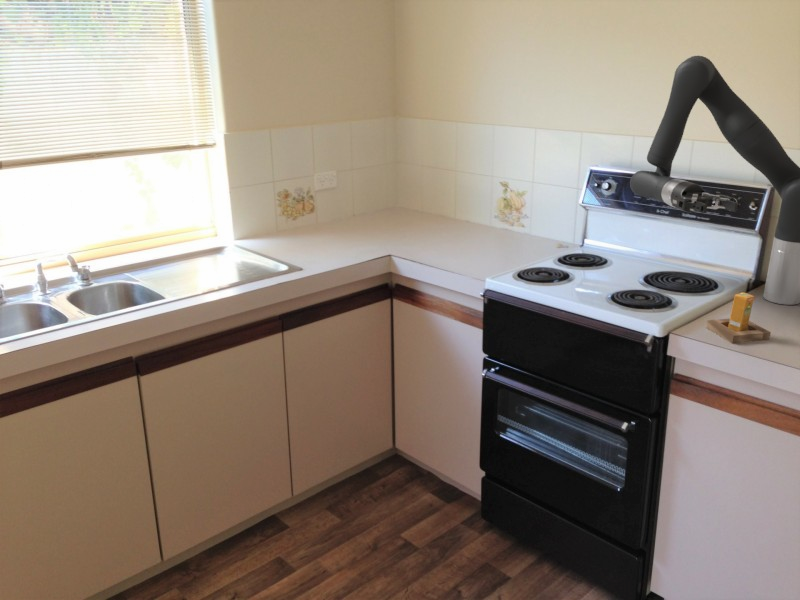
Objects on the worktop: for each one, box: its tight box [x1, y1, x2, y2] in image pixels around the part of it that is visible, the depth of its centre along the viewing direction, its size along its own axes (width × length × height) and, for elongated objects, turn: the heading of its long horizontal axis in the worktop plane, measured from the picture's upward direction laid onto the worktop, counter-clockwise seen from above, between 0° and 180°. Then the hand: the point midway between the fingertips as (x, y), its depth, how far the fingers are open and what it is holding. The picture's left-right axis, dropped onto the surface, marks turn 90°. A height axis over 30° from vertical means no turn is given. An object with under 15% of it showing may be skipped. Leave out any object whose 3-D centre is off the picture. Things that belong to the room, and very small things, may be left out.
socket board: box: [705, 317, 772, 345], centre depth 176 cm, size 10×10×2 cm
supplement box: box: [728, 292, 755, 332], centre depth 175 cm, size 3×3×10 cm
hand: (720, 208), depth 179 cm, fingers open, 8 cm apart
